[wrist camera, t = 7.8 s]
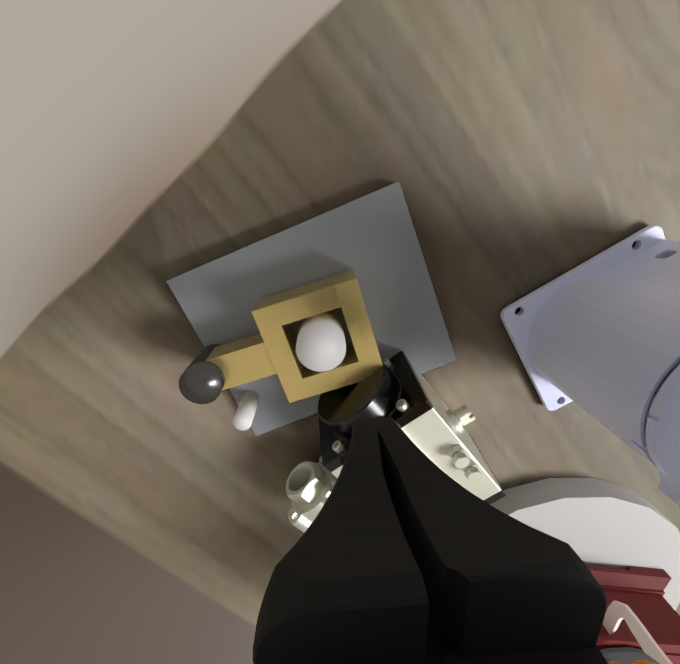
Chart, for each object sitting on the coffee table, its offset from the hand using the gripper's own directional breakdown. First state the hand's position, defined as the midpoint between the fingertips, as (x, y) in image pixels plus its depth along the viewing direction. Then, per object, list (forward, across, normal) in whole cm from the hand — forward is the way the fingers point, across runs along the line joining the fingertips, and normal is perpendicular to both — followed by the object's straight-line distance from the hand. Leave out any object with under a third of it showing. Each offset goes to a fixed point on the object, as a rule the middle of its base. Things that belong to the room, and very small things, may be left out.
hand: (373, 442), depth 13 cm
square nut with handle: (+9, +4, -1) cm, 10 cm away
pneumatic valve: (+7, +4, +11) cm, 13 cm away
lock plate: (+10, +2, -1) cm, 10 cm away
